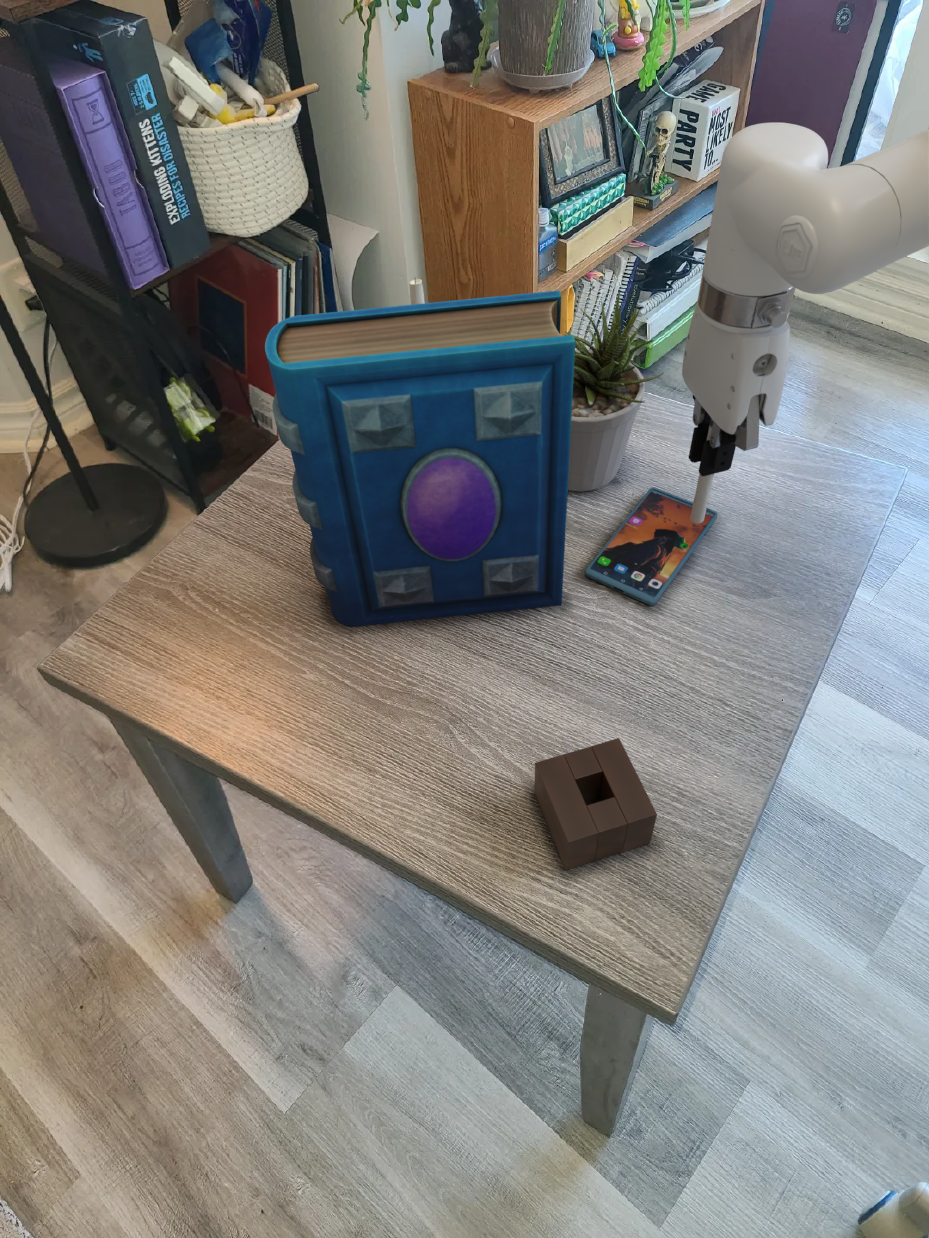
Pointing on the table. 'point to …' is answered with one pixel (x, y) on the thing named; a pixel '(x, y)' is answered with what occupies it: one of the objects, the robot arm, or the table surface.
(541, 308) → the book
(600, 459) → the potted plant
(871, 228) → the robot arm
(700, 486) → the stylus
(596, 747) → the pen stand
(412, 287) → the candle
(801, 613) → the table surface
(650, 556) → the smartphone
